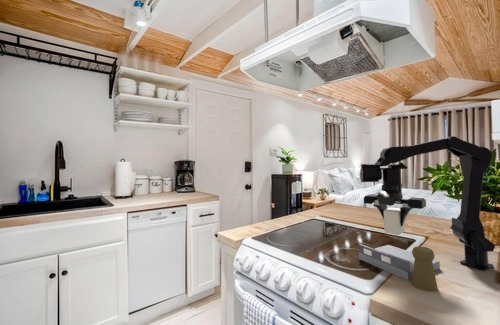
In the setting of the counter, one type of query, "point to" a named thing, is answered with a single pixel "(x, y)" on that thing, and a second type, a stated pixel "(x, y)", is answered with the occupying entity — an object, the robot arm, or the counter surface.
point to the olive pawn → (424, 269)
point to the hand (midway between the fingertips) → (393, 224)
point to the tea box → (393, 221)
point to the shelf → (391, 260)
